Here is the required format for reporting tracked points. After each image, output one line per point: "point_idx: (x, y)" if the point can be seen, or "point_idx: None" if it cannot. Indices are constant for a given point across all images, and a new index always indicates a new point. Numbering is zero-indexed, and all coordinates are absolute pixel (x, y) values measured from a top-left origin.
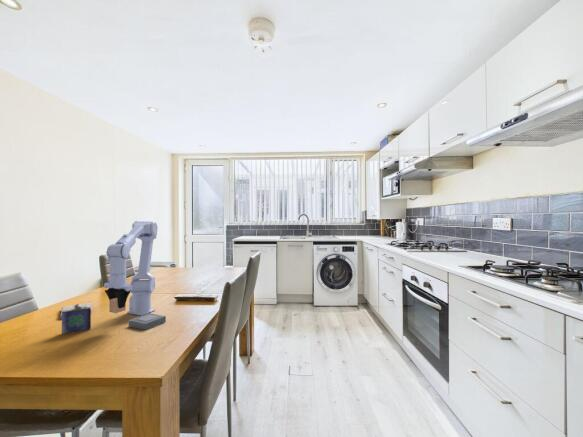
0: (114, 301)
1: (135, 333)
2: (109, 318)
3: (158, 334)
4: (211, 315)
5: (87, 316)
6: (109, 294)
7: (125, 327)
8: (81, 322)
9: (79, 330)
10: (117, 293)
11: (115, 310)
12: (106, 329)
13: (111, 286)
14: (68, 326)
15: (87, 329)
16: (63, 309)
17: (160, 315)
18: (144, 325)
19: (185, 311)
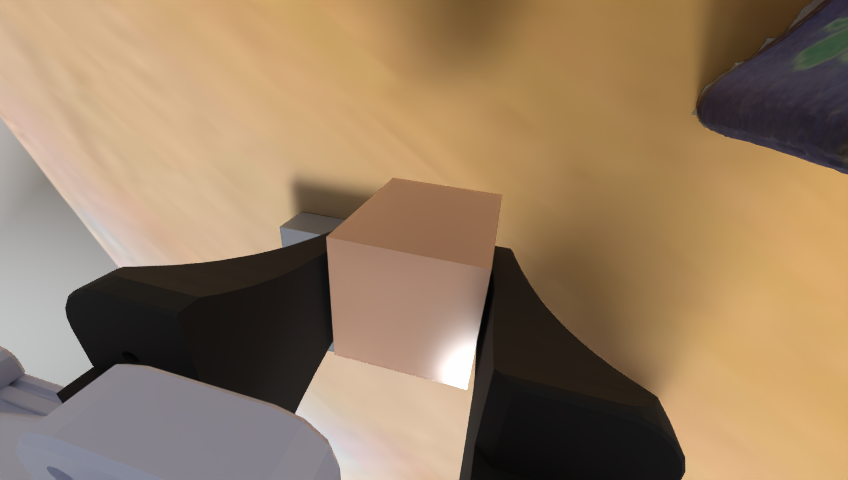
0: (369, 236)
1: (305, 158)
2: (715, 332)
3: (196, 181)
4: None
5: (792, 101)
6: (491, 336)
7: None
8: (819, 49)
9: (781, 41)
10: (138, 275)
11: (390, 188)
12: (547, 158)
13: (51, 467)
14: None
15: (708, 91)
16: None
17: (330, 348)
18: (292, 223)
19: (350, 432)
